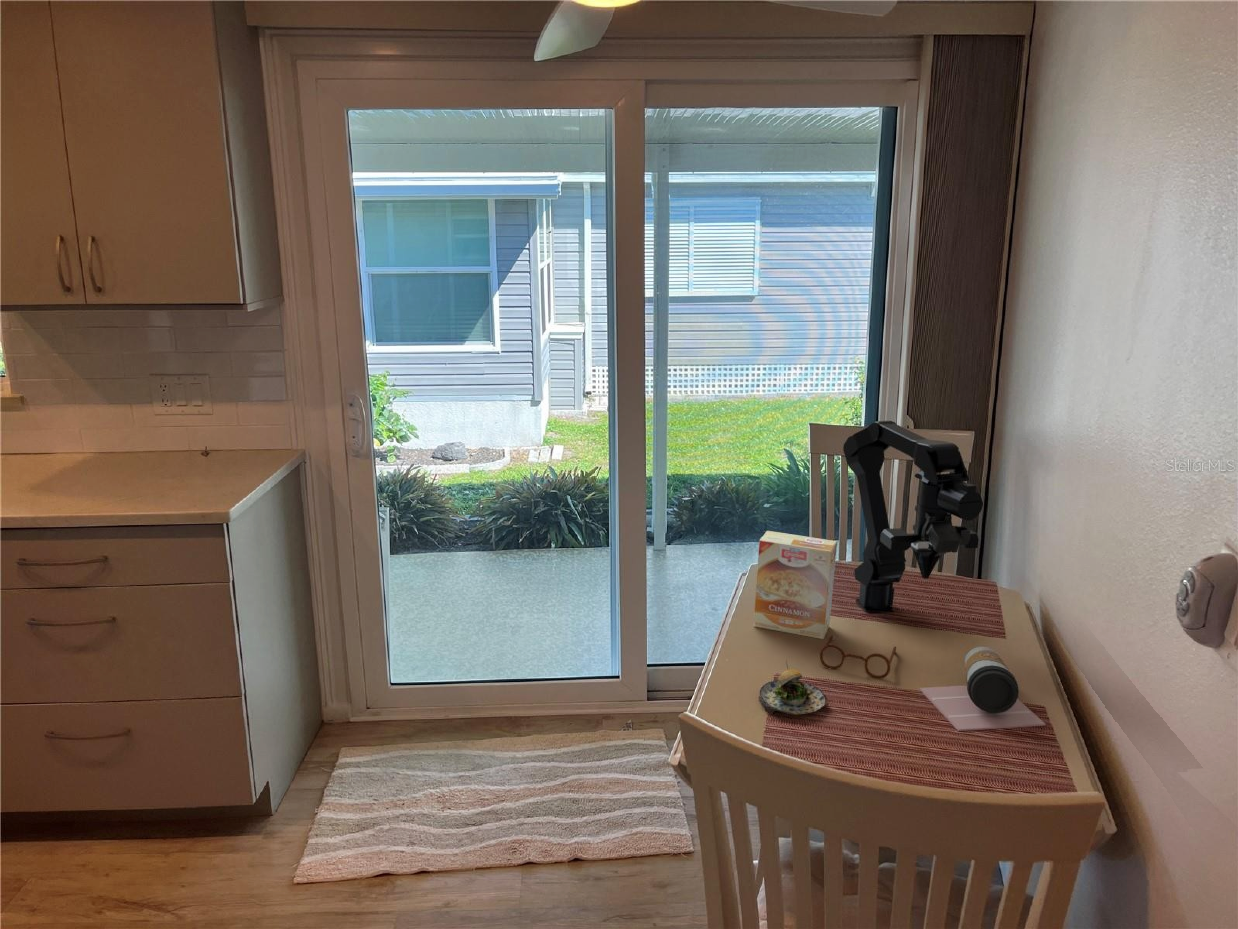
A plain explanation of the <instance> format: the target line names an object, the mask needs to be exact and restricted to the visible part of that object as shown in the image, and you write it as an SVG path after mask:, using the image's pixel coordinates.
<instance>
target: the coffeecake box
mask: <svg viewBox="0 0 1238 929" xmlns="http://www.w3.org/2000/svg"><path fill="white" fill-rule="evenodd" d="M758 541H759V544H758V554H757V557H758V558H757V570H756V583H755V598H754V612H753V613H754V614H753V627H754V628H755V627H756V628H760V629H765V630H771V631H777V632H783V633H787V634H793V635H799V636H804V637H809V638H816V639H821V640H824V639H825V637H826V634H827V632H828V630H829V627H830V623H831V611H832V601H833V591H834V578H835V570H836V569H835V568H836V559H837V558H836V557H837V547H838V541H837V540H831V539H824V538H819V537H818V538H817V537H813V536H804V535H800V534H799V535H798V534H791V533H785V532H778V531H771V530H766V531H765V533H764V534H763V536H761V537H760V539H759V540H758Z"/></svg>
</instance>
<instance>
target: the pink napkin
mask: <svg viewBox="0 0 1238 929" xmlns="http://www.w3.org/2000/svg"><path fill="white" fill-rule="evenodd" d="M919 691H920V692H921V693H922V694H923V695H924V696H925V697H926V698H927V700H929V701H930V703H932V704H933V706H934V707H935V708H936V709H937V710H938V711H939V713H941V715H942V716H943V717H945V719H946V720H947V721H948V722H949V723H950V724H951V725H952V726H953V727H954V729H957V731H958V732H963V731H964V732H965V731H980V730H981V731H982V730H998V729H1008V728H1009V729H1011V728H1012V729H1013V728H1027V727H1028V728H1029V727H1045V726H1046V723H1045V722H1044V721H1043V720H1041V718H1039V717H1038V716H1037V715H1036V713H1034V712H1033V711H1032V710H1031V709H1030V708H1029V707H1027V706H1026V705H1025V704H1024V703H1023V702H1022V701H1021V700H1020V699H1018V698H1017V700H1016V703H1015V704H1014V705H1013V706H1012V707H1011V708H1010V709H1009V710H1007V711H1005V712H1002V713H989V712H986V711H983V710H981V709H980V708H978V707H977V706H976V705H975V704H974V703H973V702H972V700H971V699H970V697H969V695H968V690H967V685H952V686H950V685H949V686H934V687H932V686H929V687H919Z"/></svg>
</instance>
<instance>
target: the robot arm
mask: <svg viewBox="0 0 1238 929" xmlns="http://www.w3.org/2000/svg"><path fill="white" fill-rule="evenodd" d="M889 448H893V449H894V450H896V451H899V452H900V453H903V454H905V455H906V456H909V457H910V458H912V461H913V464H914V466H916V467H917V468H918V469H919V470H920V471H918V472H916V473H915V474H914V477H915V478H916V479H918V480H920V482H921V483H920V490H919V499H918V505H915V507H914V511H915V512H916V514H917V515H916V524H913V525H912V530H913V531H914V532H915V533H908V532H906V531H905V530H903V529H901V527H900V528H890V523H889V516H888V512H887V506H886V500H885V496H884V494H885V493H884V489H883V484H882V483H883V482H882V478H881V471H882V468H883V465H884V463H885V460H886V458H885V451H887V450H888V449H889ZM842 449H843V454H844V456H845V460H846V464H847V466H848V468H849V469H850V470H851V471H852V472H853V474H854V475H855V476H856V478H857V484H858V489H859V496H860V501H861V507H862V513H863V519H864V523H865V524H864V525H865V530H866V535H867V542H866V545H865V547H864V550H863V553H862V558H863V562H862V563H861V564H859V565H858V566H857V567H855V569H854V571H853V572H854V579H855V580H856V581H857V582H859V583H860V585H859V595H858V596H859V597H858V598H856V599H855V602H856V604H858V606H859V607H860V608H861V609H862V610H863V611H864V612H865V613H869V614H870V613H889V612H890V613H893V612H894V611H895V609H894V608H893V607H892V606H893V605H894V597H895V588H894V584H895V583H900V581H901V579H902V576H903V574H904V572H905V570H906V562H907V559H906V557H905V552H904V551H908V550H909V549H910V548H911V550H912V551H913V552H912V553H914V556H915V559H916V563H917V565H918V568H919V572H920V574H921V577H922V578H923V579H924V580H925V579H929V577H930V576H931V575H932V574H931V573H932V572H933V570H934V568H935V567H936V565H937V564H938V561H939V560H940V559H941V558H942V556H944V555H946V554H947V553H958V551H959V550H960V549H959V548H960V546H962V547H963V548H965V549H979V547H980V541H981V540H980V536H979V534H978V533H976V531H974V530H972V529H970V527H969V526H968V525H962V526H961V525H959V526H958V525H953V521H952V520H953V518H952V517H953V516H955V517H957V518H959V519H961V520H963V521H967V522H969V521H972V520H974V519H976V518H978V516H979V515H980V514H981V512H982V510H983V507H984V501H983V498H982V496H981V495H980V493H978V492H977V485H976V484H972V483H968V482H969V481H970V477H969V475H968V470H967V468H966V465H965V463H964V459H963V457H962V454H961V452H960V450H959V449H960V448H959V446H957V444H955V443H953V442H949V441H943V440H935V439H934V440H933V439H929V438H926V437H923V436H921V435H920V434H917V433H916V432H914V431H911V430H909V429H907V428H905V427H903V426H901V425H899V424H897V423H896V422H895V421H893V420H879V421H878V420H877V421H874V422H872V423H871V424H869V425H868V426H867V427H865V428H864V429H861V430H859V431H857V432H855V433H854V434H852V435H850V436H848V437H847V439H846V441H844V443H843V447H842ZM952 515H953V516H952Z"/></svg>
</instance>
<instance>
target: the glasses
mask: <svg viewBox="0 0 1238 929" xmlns="http://www.w3.org/2000/svg"><path fill="white" fill-rule="evenodd" d="M832 641H834V635H833V634H831V635H830V636H829V638H828V640H827V641H826V643H825V644H824V646H823V647H822V648H821V650H820V652H819V661H820V663H821V665H822V666H823V667H825V668H826V669H829V668H831V669H830V670H838V669H840V668H841V667H842V666H843V665H844V662H845V659H846V658H852V659H858V660H861V661H863V662H864V671H865V673H866V674H867V675H868V676H869V677H871V678H873V679H878V680H880V679H885V678H887V676H888V675H889V673H890V672H891V663H892V660H893V659H894V655H895V654H896V651H897V646H895V645H894V647H893V649H892V651H891V655H890V656H889V659H888V657H887V656H885V655H884V654H882V653H870V654H869V655H867V656H866V657H865V656H863V655H859V654H855V653H845V651H844V650H843V648H841V647H840V646H838V645H836V644H832V643H831V642H832ZM827 649H835V650H837V651H838V652H839V653H840V654H841V661H840V662H839V664H837V665H829V664H828V663H826V662H825V660H824V653H825V651H826V650H827ZM875 657H877V658H880V659H882V660H884V661H885V663H886V666H887V667H886V671H885V672H884V673H883V674H881V675H877V674H874V673H872V672H871V671H870V669H869V666H868V664H869V660H870V659H872V658H875Z"/></svg>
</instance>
